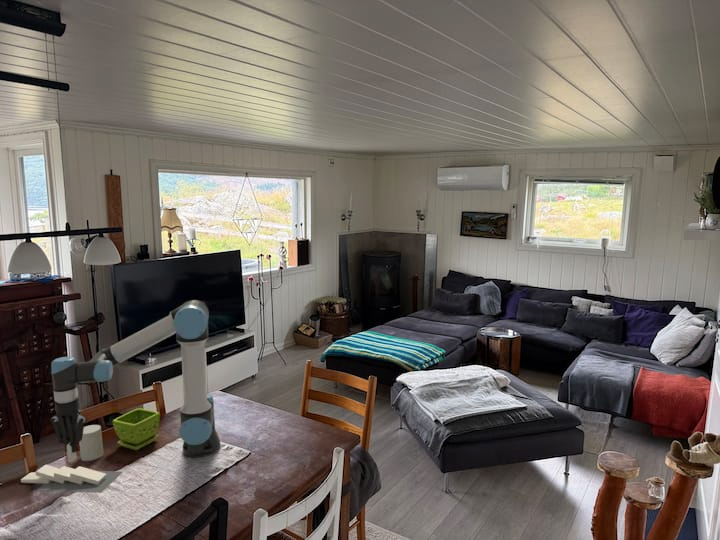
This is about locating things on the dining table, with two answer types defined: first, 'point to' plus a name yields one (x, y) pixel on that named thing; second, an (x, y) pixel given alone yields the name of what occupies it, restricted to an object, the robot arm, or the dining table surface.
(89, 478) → the domino
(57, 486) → the mat
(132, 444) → the flower pot
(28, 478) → the domino
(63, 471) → the domino
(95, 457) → the white upright cylinder
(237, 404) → the dining table surface
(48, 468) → the domino
